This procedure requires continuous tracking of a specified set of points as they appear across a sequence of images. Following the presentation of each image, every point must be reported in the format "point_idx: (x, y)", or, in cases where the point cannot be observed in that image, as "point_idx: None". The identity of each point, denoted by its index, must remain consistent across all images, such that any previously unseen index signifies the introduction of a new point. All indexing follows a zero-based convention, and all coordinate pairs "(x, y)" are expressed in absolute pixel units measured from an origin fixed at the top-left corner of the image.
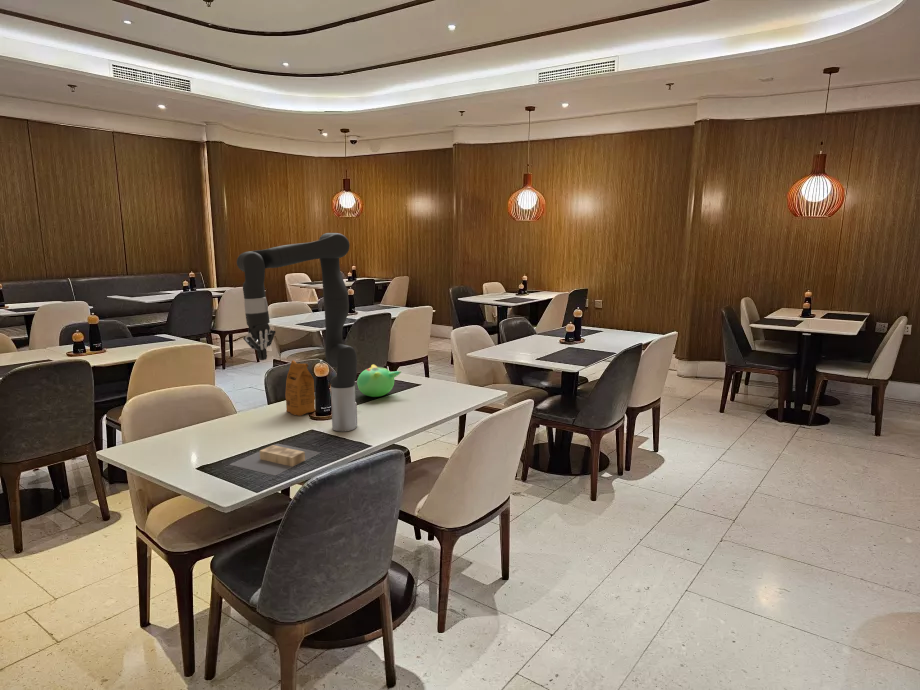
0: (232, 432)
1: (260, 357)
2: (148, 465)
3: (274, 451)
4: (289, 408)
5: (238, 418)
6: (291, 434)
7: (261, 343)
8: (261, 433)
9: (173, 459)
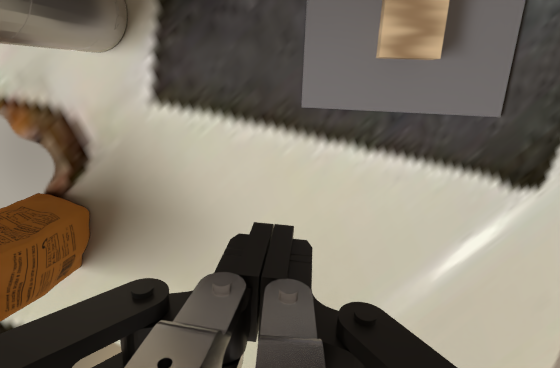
0: None
1: (311, 254)
2: (553, 310)
3: (430, 4)
4: (79, 253)
5: None
6: (214, 129)
7: (287, 340)
8: (246, 212)
9: (497, 285)
